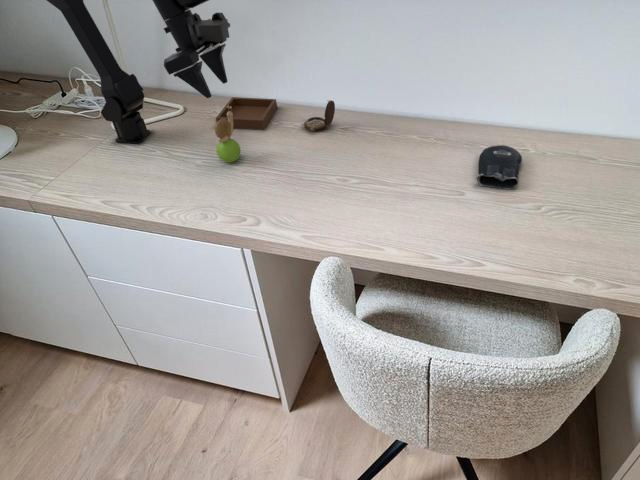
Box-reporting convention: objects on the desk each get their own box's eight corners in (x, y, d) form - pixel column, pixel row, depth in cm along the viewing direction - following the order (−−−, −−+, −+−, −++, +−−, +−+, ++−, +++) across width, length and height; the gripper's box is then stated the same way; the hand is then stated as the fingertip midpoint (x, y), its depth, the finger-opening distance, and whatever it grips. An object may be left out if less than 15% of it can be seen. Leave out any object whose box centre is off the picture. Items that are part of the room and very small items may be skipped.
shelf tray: (217, 127, 129) (215, 117, 127) (233, 106, 138) (232, 97, 136) (264, 129, 127) (262, 120, 125) (277, 108, 136) (276, 99, 134)
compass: (308, 119, 131) (306, 93, 126) (337, 123, 129) (335, 96, 124) (298, 133, 125) (294, 106, 120) (327, 137, 124) (325, 110, 119)
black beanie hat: (519, 196, 106) (522, 153, 115) (520, 176, 102) (523, 132, 111) (475, 195, 109) (481, 153, 118) (475, 175, 105) (481, 133, 114)
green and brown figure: (249, 155, 118) (240, 107, 110) (233, 168, 114) (222, 119, 105) (230, 150, 120) (220, 103, 111) (214, 163, 115) (202, 115, 107)
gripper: (189, 10, 89) (233, 93, 97) (227, -10, 103) (262, 64, 111) (142, 32, 92) (188, 110, 101) (185, 10, 107) (222, 80, 115)
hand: (217, 89), depth 107 cm, fingers open, 9 cm apart
